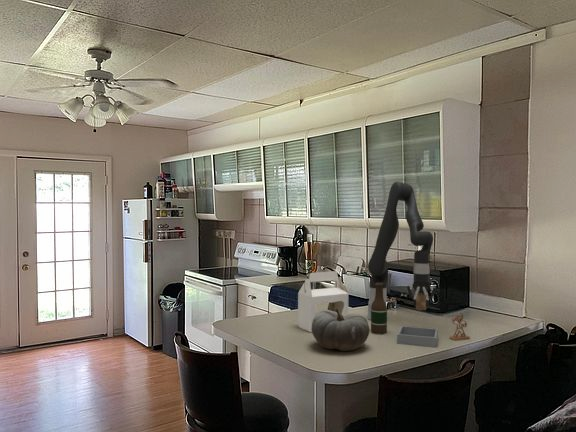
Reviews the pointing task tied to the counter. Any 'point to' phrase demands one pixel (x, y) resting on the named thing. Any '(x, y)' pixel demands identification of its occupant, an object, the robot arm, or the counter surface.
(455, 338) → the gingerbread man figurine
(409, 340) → the grey bin
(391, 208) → the robot arm
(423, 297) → the walnut block
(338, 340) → the gourd
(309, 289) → the gable box
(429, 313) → the counter surface
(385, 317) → the beer bottle
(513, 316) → the counter surface
